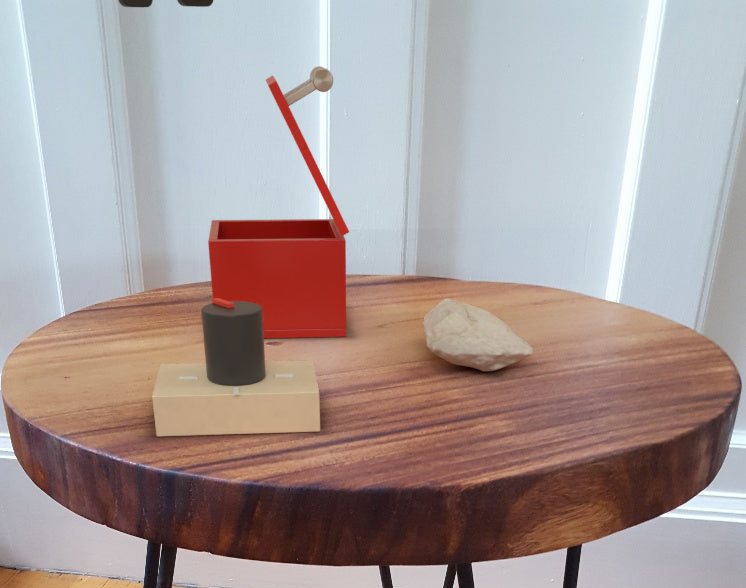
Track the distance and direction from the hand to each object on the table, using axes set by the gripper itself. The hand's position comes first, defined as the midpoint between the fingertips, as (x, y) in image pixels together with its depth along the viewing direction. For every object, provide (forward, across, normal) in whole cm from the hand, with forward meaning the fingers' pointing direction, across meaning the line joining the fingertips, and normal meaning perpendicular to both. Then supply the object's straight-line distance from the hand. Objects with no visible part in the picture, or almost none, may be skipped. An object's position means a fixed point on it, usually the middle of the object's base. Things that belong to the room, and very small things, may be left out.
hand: (164, 6), depth 62 cm
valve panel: (+26, +4, +1) cm, 26 cm away
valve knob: (+23, +4, +1) cm, 23 cm away
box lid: (+11, -17, +21) cm, 29 cm away
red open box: (+26, -18, +19) cm, 37 cm away
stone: (+26, +2, +26) cm, 37 cm away
